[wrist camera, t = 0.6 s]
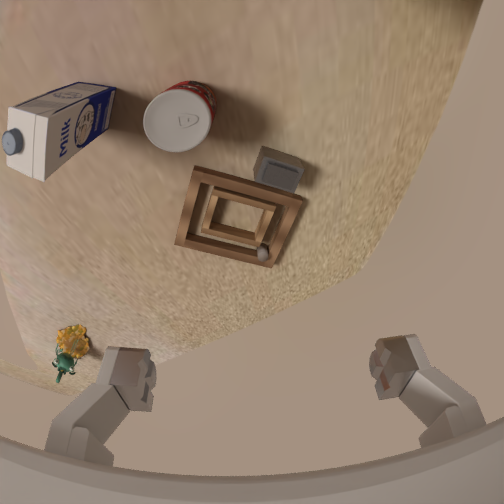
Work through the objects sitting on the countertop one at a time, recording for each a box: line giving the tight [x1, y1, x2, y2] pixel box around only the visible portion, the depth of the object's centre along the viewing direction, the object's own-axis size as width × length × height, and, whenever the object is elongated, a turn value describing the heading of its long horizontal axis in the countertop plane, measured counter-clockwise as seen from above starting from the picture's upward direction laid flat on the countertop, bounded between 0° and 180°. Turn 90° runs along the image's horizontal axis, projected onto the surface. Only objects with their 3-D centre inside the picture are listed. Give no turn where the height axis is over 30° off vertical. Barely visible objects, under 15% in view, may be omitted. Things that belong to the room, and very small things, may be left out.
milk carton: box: [2, 82, 116, 182], centre depth 33 cm, size 7×7×20 cm
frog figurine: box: [52, 324, 90, 383], centre depth 67 cm, size 10×18×15 cm, turn 137°
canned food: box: [143, 81, 217, 152], centre depth 38 cm, size 8×8×11 cm
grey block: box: [253, 146, 304, 193], centre depth 46 cm, size 4×6×6 cm, turn 71°
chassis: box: [174, 166, 303, 268], centre depth 53 cm, size 14×18×3 cm
